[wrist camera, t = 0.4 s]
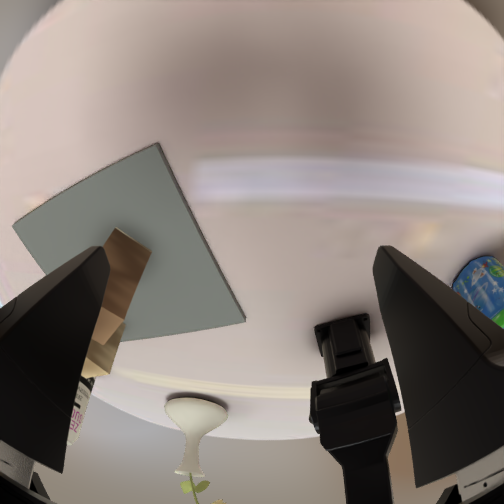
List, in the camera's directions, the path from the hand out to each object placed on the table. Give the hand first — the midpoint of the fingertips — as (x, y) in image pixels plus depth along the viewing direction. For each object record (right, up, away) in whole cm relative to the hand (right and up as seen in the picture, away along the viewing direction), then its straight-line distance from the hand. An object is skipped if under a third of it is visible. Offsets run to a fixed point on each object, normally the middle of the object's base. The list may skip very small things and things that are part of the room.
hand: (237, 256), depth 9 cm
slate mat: (-13, -2, +18) cm, 23 cm away
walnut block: (-12, 0, +16) cm, 20 cm away
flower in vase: (-9, -27, +38) cm, 47 cm away
